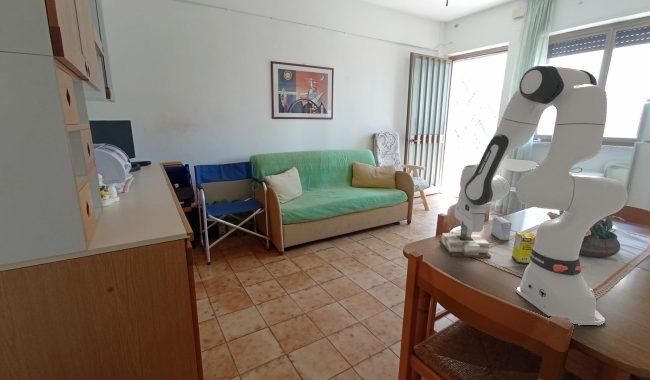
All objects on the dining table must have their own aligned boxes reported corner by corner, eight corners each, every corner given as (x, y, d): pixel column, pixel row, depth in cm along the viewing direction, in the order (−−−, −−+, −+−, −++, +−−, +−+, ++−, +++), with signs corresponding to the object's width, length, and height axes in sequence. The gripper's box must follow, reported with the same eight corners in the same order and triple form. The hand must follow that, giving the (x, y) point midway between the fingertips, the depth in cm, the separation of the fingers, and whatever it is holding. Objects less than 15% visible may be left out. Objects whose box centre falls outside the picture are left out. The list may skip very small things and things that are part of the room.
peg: (471, 245, 125) (474, 222, 123) (461, 244, 126) (464, 222, 123) (467, 241, 129) (470, 219, 127) (458, 241, 129) (460, 219, 127)
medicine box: (509, 240, 138) (512, 222, 136) (499, 240, 138) (502, 222, 136) (500, 233, 145) (502, 217, 143) (490, 233, 145) (493, 216, 143)
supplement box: (534, 265, 114) (539, 238, 111) (517, 263, 115) (522, 237, 113) (527, 258, 120) (532, 233, 117) (511, 257, 121) (515, 231, 118)
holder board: (491, 257, 120) (492, 246, 119) (452, 256, 120) (453, 245, 119) (473, 241, 135) (475, 231, 134) (439, 241, 136) (440, 230, 135)
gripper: (452, 196, 133) (449, 225, 137) (472, 210, 114) (467, 243, 117) (467, 196, 133) (463, 225, 136) (489, 210, 113) (484, 244, 117)
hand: (465, 234), depth 126 cm, fingers closed on peg, 4 cm apart
